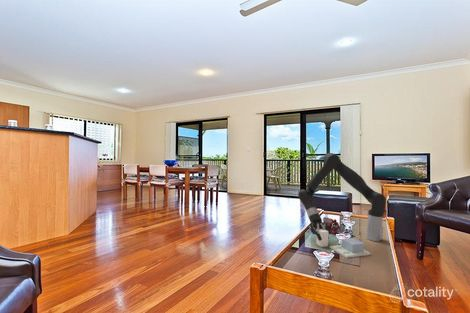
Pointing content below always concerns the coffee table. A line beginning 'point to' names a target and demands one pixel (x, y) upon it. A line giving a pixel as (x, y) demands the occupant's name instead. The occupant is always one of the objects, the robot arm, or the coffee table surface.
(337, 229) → the dark red irregular lump
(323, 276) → the coffee table surface
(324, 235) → the cream column brick
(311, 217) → the robot arm
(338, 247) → the building plate
